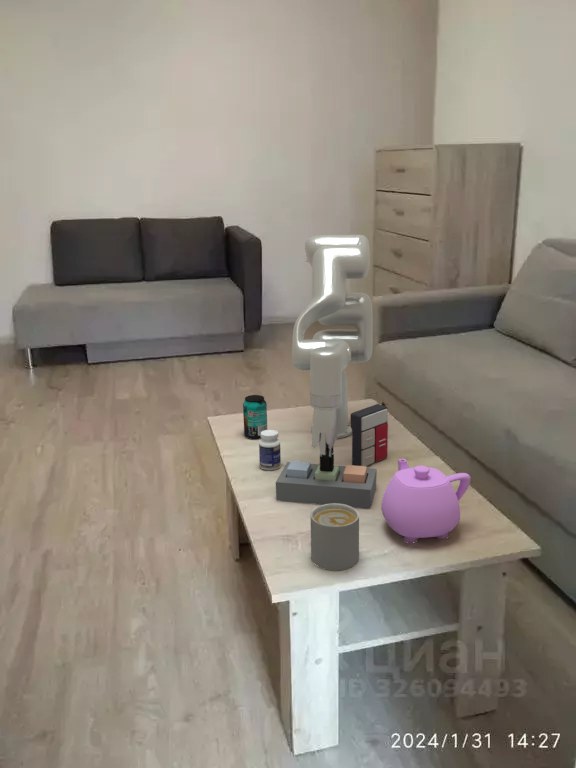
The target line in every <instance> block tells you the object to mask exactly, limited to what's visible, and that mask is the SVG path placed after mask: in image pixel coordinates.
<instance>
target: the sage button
mask: <svg viewBox="0 0 576 768" xmlns="http://www.w3.org/2000/svg"><path fill="white" fill-rule="evenodd" d="M339 466H340V465H335V466H334V469H333V471H332V472H327V471H320V465H319V466H318V468H317V470H316V472H315V480H327V481H337V479H338V476H339Z"/></svg>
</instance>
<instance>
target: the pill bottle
mask: <svg viewBox="0 0 576 768" xmlns="http://www.w3.org/2000/svg"><path fill="white" fill-rule="evenodd" d="M258 448H259V449H258V450H259V451H258V452H259V455H258V457H259V460H258V461H259V467H260V468H261V469H262V470H264V471H274V470H275V471H276V470H278V469H280V468H281V465H282V462H281V461H282V458H281V456H282V455H281V441H280V440H279V432H278V430H276V429H275V430H274V429H267V430H264V431H262V432H261V439H260V440H259V442H258Z"/></svg>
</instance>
